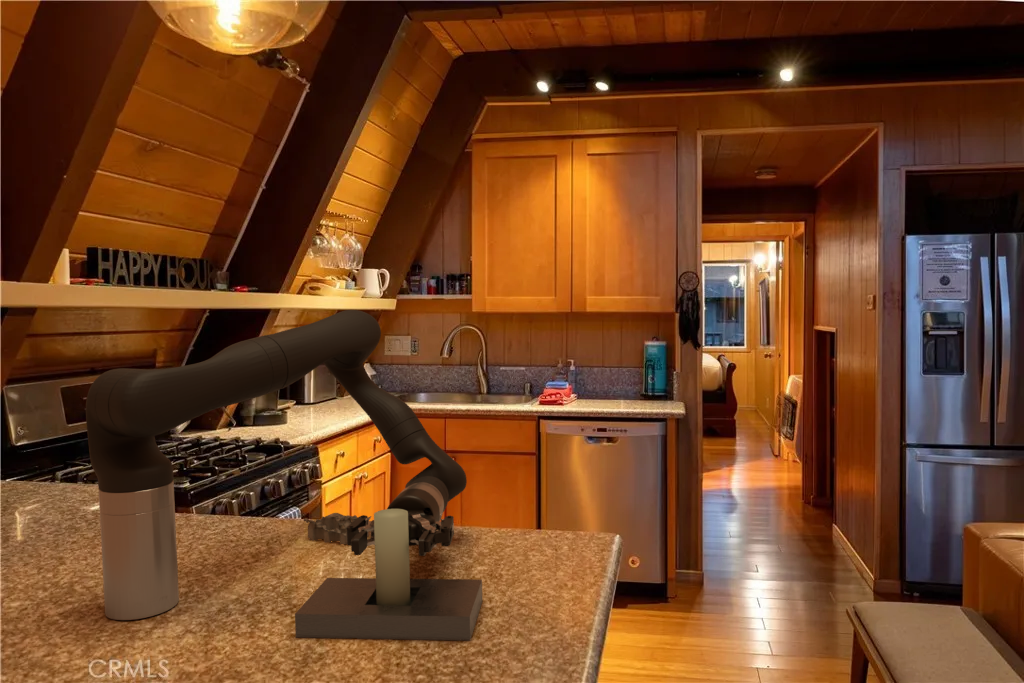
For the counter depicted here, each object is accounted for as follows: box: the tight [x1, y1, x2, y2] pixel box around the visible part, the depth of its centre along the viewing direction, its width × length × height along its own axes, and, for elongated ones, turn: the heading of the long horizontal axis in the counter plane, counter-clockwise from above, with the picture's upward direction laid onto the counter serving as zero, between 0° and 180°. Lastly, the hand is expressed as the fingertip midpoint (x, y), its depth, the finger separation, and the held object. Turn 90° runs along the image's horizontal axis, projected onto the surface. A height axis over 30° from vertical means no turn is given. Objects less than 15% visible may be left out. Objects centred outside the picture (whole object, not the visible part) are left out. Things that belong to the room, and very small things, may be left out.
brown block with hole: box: [294, 577, 484, 642], centre depth 96 cm, size 22×12×3 cm, turn 85°
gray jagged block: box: [303, 512, 372, 545], centre depth 131 cm, size 11×8×4 cm
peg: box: [373, 508, 411, 606], centre depth 96 cm, size 4×4×14 cm
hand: (388, 548), depth 94 cm, fingers open, 8 cm apart
